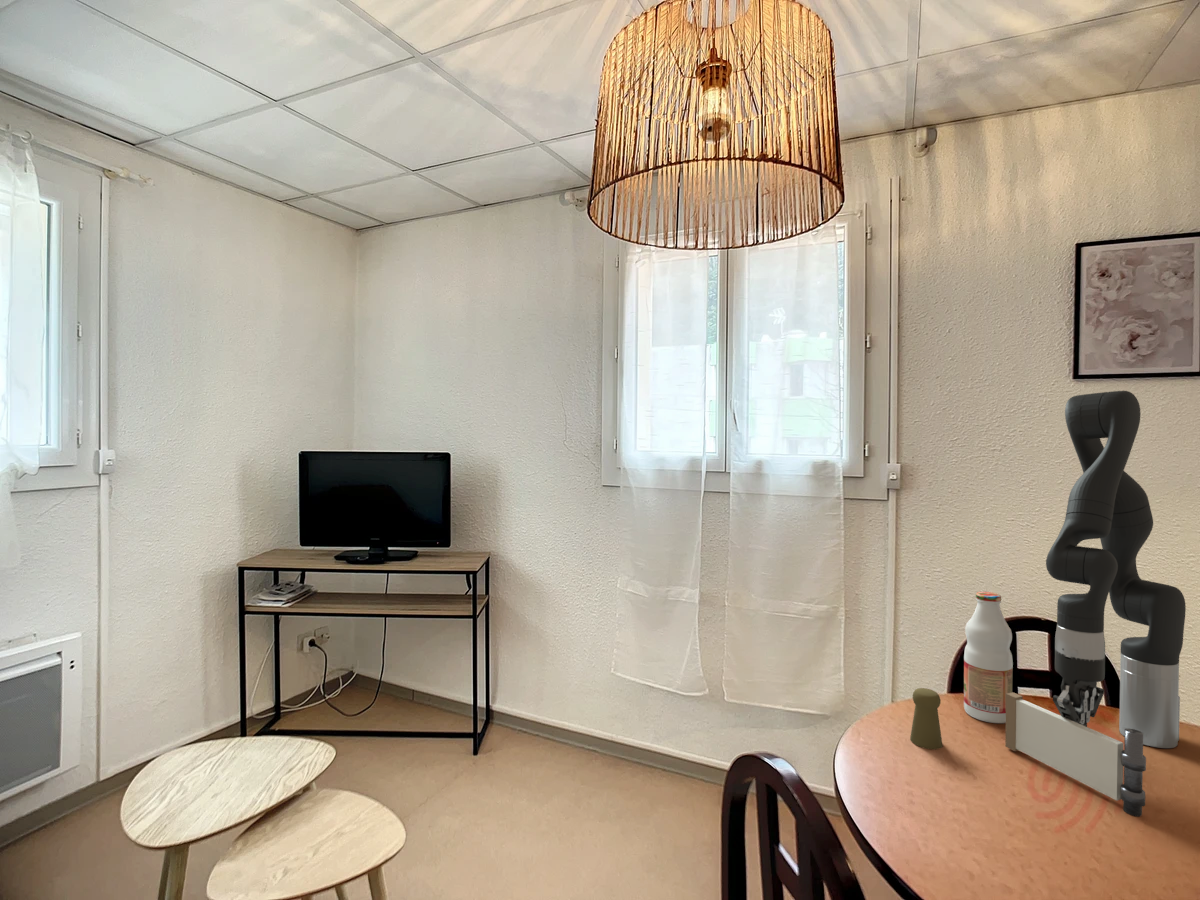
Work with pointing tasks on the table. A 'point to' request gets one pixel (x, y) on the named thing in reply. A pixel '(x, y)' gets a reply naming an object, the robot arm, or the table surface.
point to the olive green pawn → (926, 719)
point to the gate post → (1133, 773)
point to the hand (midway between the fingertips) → (1078, 740)
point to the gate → (1065, 745)
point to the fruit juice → (987, 661)
